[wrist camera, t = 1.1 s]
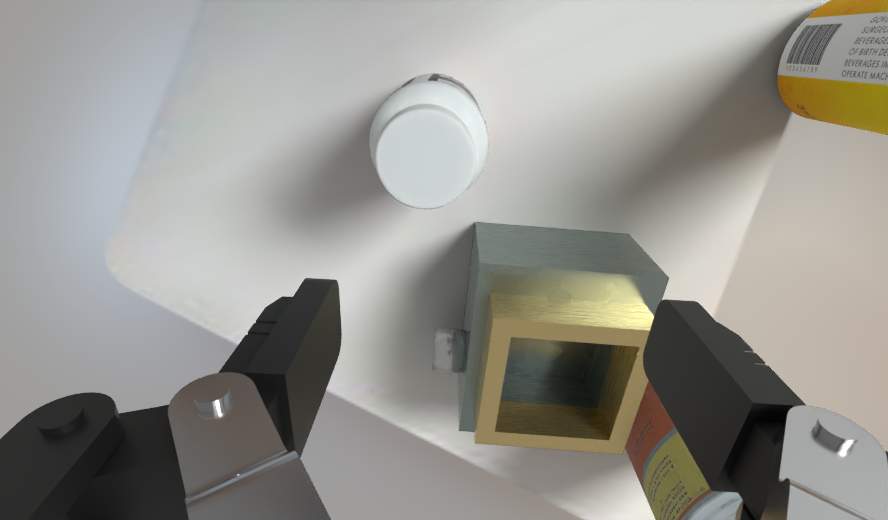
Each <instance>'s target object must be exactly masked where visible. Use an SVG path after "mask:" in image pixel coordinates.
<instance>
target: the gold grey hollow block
mask: <svg viewBox="0 0 888 520" xmlns="http://www.w3.org/2000/svg"><path fill="white" fill-rule="evenodd" d="M668 280H669V277H668V276H667V275H666V274H665V273H664V272H663V271H662V270H661V269H660V267H659V266H658V265H657V264H656V263H655V262H654V261H653V260H652V259H651V258H650V257H649V255H648V254H647V253H646V252H645V251H644V250H643V249H642V248H641V247H640V246H639V245H638V244H637V242H636V241H635V240H634V239H633V238H632V237H631V236H630V235H629V234H618V233H605V232H593V231H580V230H568V229H555V228H543V227H530V226H518V225H505V224H493V223H480V222H475V229H474V238H473V246H472V255H471V264H470V273H469V281H468V290H467V299H466V308H465V317H464V325H463V330H460V329H447V328H436V330H435V342H434V355H433V368H432V371H443V372H456V373H459V431H469V432H475V443H477V444H491V445H504V446H518V447H531V448H545V449H558V450H572V451H585V452H599V453H612V454H623V451H624V448H625V445H626V443H627V440H628V437H629V434H630V431H631V428H632V425H633V423H634V420H635V417H636V414H637V411H638V408H639V406H640V403H641V400H642V397H643V394H644V391H645V389H646V386H647V383H648V378H647V376H646V374H645V371H644V367H643V352H644V348H645V345H646V342H647V338H648V335H649V332H650V329H651V325H652V322H653V319H654V315H655V312H656V309H657V306H658V304H659V303H660V302H661V301H662V298H663V295H664V292H665V289H666V286H667V283H668Z"/></svg>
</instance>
